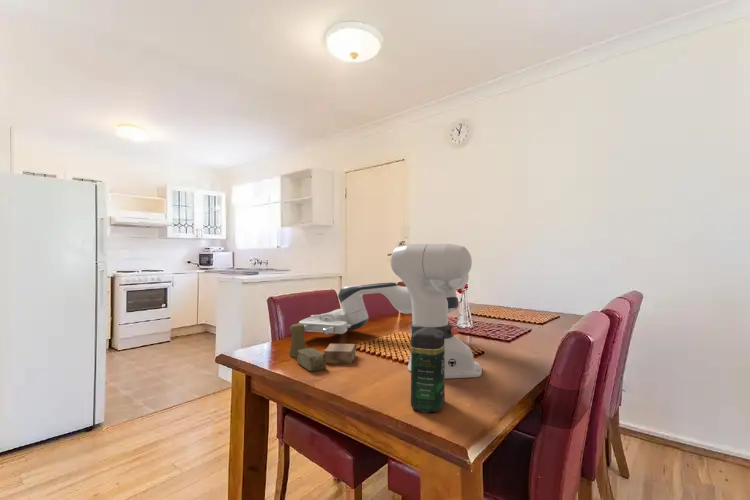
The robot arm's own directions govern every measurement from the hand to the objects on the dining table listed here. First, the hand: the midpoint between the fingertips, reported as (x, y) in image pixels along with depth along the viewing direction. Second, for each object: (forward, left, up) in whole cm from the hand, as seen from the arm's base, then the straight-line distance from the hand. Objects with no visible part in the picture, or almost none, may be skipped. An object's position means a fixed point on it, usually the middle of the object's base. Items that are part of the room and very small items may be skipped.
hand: (313, 330), depth 143 cm
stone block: (-5, +22, -6) cm, 24 cm away
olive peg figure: (+3, +11, -6) cm, 13 cm away
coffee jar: (-41, +49, -6) cm, 64 cm away
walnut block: (-13, +15, -6) cm, 21 cm away
